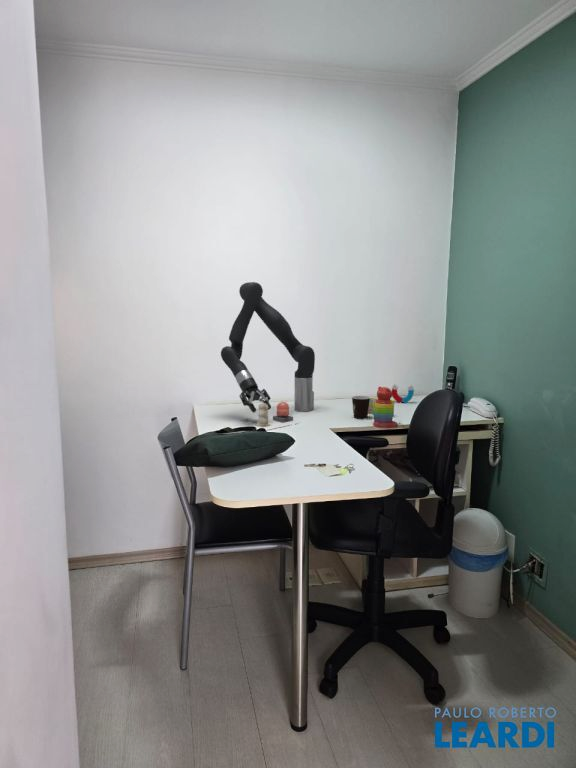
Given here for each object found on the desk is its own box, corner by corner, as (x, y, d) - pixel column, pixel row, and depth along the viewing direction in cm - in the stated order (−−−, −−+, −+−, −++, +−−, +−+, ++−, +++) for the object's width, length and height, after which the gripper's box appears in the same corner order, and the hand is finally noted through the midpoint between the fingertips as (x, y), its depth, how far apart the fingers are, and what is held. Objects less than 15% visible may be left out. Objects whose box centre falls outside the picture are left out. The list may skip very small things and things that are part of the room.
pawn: (264, 422, 256) (264, 401, 254) (272, 424, 251) (272, 403, 250) (254, 424, 252) (254, 403, 250) (262, 426, 248) (262, 404, 246)
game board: (269, 415, 275) (269, 410, 274) (300, 423, 259) (300, 417, 258) (226, 423, 258) (226, 418, 257) (256, 432, 241) (256, 426, 241)
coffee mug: (368, 420, 265) (369, 399, 264) (350, 419, 267) (351, 398, 265) (370, 414, 276) (370, 395, 275) (352, 414, 278) (353, 394, 277)
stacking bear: (400, 426, 254) (401, 387, 251) (383, 429, 248) (384, 389, 245) (383, 421, 262) (384, 384, 259) (367, 424, 257) (368, 386, 254)
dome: (283, 412, 264) (283, 400, 263) (292, 414, 260) (292, 402, 259) (273, 414, 260) (273, 401, 259) (282, 416, 256) (282, 403, 255)
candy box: (394, 416, 274) (394, 399, 272) (392, 417, 272) (392, 400, 271) (364, 412, 283) (365, 396, 282) (362, 413, 281) (363, 396, 280)
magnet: (413, 402, 306) (414, 384, 305) (413, 403, 304) (413, 385, 302) (391, 401, 309) (392, 383, 308) (391, 402, 307) (391, 384, 305)
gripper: (237, 378, 251) (253, 407, 244) (261, 375, 260) (278, 403, 254) (230, 388, 255) (246, 417, 249) (254, 385, 265) (270, 412, 258)
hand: (262, 410), depth 251 cm, fingers open, 8 cm apart
